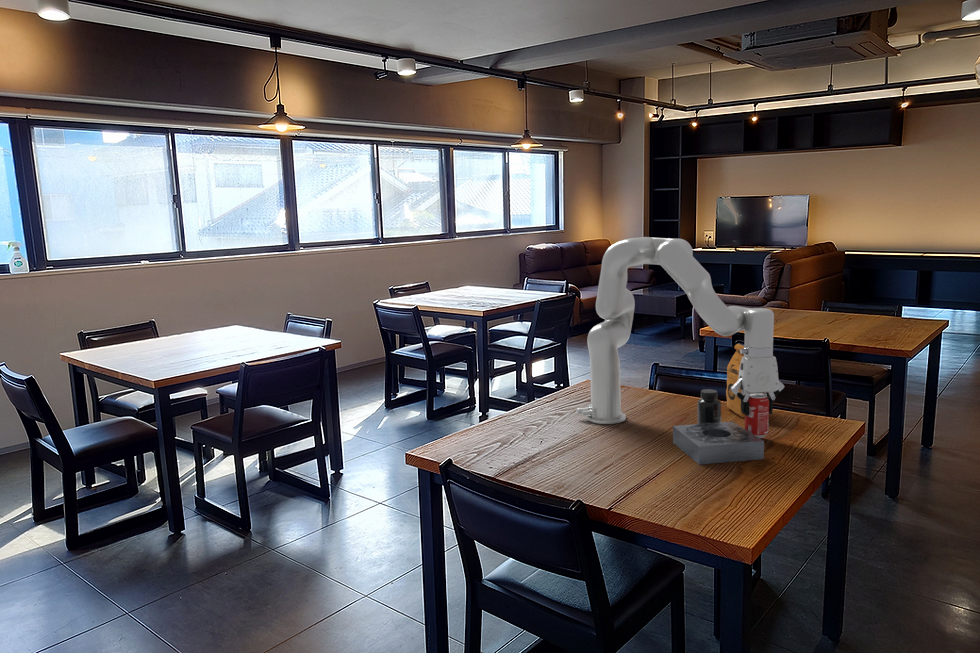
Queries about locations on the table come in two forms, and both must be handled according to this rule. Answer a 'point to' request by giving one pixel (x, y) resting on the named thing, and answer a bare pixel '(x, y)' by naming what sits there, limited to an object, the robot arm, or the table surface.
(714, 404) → the supplement bottle
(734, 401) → the coffee package
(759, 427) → the beverage can
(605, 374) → the robot arm
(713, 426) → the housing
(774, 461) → the table surface
